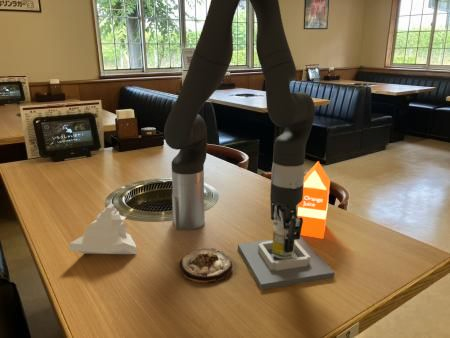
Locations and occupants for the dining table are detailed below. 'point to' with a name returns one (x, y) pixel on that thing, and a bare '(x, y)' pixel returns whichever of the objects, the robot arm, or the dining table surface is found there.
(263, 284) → the socket board
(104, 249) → the white jagged pyramid
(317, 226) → the orange juice
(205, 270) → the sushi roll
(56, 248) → the dining table surface
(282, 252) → the supplement bottle
